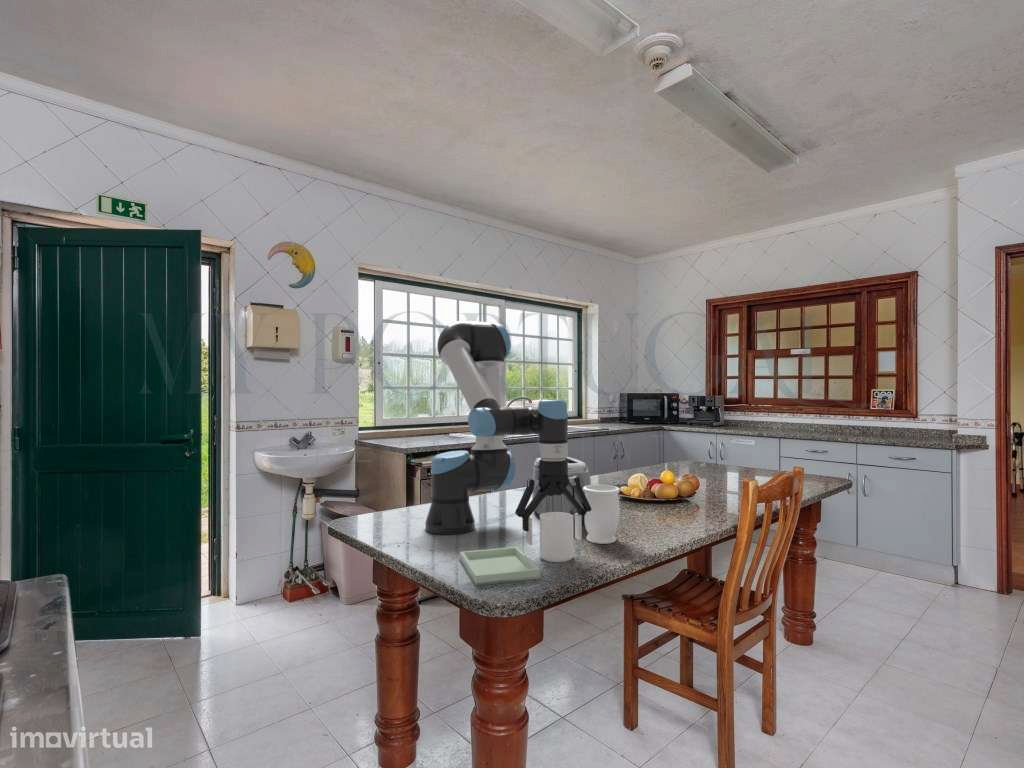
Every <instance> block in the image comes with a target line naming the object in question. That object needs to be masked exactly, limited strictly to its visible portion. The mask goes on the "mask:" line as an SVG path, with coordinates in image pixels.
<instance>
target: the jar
mask: <svg viewBox="0 0 1024 768" xmlns="http://www.w3.org/2000/svg"><path fill="white" fill-rule="evenodd" d="M583 491H584V492H585V496H586V498H587V500H588V502H589V504H590V506H591V511H590V512H589V511H588V512H586V515H585V525H584V526H585V529H586V532H587V536H586V540H587V541H588V542H590V543H593V544H600V545H608V544H613V543H615V542H616V540H617V538H616V536H615V534H616V532H617V531H618V528H619V527H618V526H619V519H620V513H621V512H620V510H621V506H620V498H619V495H618V494H619V493H620V492H621V491H620V487H618V486H614V485H608V484H591V485H588V486H584V487H583Z"/></svg>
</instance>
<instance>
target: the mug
mask: <svg viewBox="0 0 1024 768" xmlns="http://www.w3.org/2000/svg"><path fill="white" fill-rule="evenodd" d="M539 555H540V558H541V559H542V560H543V561H546V562H549V563H550V562H552V563H565V562H568V561H570V560H572V559H573V557H574V522H573V515H571V514H569V513H563V512H548V513H543V514H541V515H540V516H539Z"/></svg>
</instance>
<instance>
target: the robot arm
mask: <svg viewBox="0 0 1024 768" xmlns="http://www.w3.org/2000/svg"><path fill="white" fill-rule="evenodd" d="M511 345H512V343H511V337H510V334H509V331H508V329H507V328H506V327H505V325H503V324H501V323H497V322H496V323H495V322H491V321H490V322H488V321H487V322H486V321H465V320H458V321H454V322H451V323H450V324H448V325H446V326H445V327H444V328H443V329H442V331H441V333H440V334H439V336H438V339H437V347H436V348H437V353H438V356H439V357H440V360H441V361H442V363H443V364H444V365H445V366H448V369H449V370H450V372H451V374H452V376H453V378H454V381H455V382H456V383H457V384H456V385H457V386H458V388H459V390H460V392H461V394H462V396H463V399H465V402H466V404H467V406H468V408H469V414H468V417H467V424H468V430H469V432H470V433H471V434H472V435H473V436H475V444H474V445H473V446H471V449H470V450H471V453H469V451H468V450H463V449H462V450H451V451H446V452H441V453H438V454H436V455H435V456H433V457H432V459H431V466H430V487H431V488H430V490H431V491H430V495H431V496H430V499H431V500H430V501H431V502H430V507H429V510H428V514H427V516H426V520H425V531H426V532H429V533H430V534H435V535H458V534H459V535H460V534H467V533H468V532H471V531H473V530H474V529H475V527H476V521H475V517H474V514H473V511H472V507H471V505H470V493H476V492H486V491H497V490H502V489H507V488H508V487H509V486H510V485H511V484H512V482H513V480H514V477H515V475H516V461H515V458H514V455H513V454H512V453H511V452H509V451H508V446H507V445H506V444H505V443H504V442H503V436H517V435H518V436H519V435H538V458H541V460H540V461H539V479H538V480H533V478H527V479H526V487H525V490H523V494H522V496H521V498H520V501H519V503H518V504H517V507H516V510H515V512H514V515H516V516H517V517H519V518H522V530H523V531H524V532H525V542H526V544H527V545H528V546H533V518H531V516H532V514H533V513H535V512H534V510H535V509H536V508H537V506H538V505H539V504H540V502H541V501H542V500H543V498H545V497H546V495H548V496H553V495H561V494H563V495H564V496H565V497H566V498H567V500H568V501H569V502H570V503H571V504H572V505H573V507H574V508H575V509H576V510H577V511H578V513H575V522H574V538H575V539H576V540H577V541H582V540H583V539H582V536H583V535H582V534H583V533H582V531H583V527H584V526H585V515H586V512H588V511H589V512H590V511H591V506H590V504H589V502H588V500H587V498H586V496H585V494H584V492H583V490H582V488H581V486H580V479H579V477H576V476H572V477H571V478H568V461H567V460H565V458H567V457H569V456H568V455H569V453H568V449H569V447H568V443H569V442H568V439H569V438H568V433H569V432H568V430H569V429H568V425H569V424H568V421H569V420H568V417H569V415H568V414H569V413H568V408H567V407H568V404H567V401H565V400H564V399H541V400H539V401H538V406H533V405H524V406H513V407H511V406H503V407H502V399H501V397H502V395H501V368H502V367H503V365H504V364H505V359H507V358H508V357H509V355H510V351H511V348H512V346H511ZM569 482H570V483H571V485H573V487H574V489H575V491H576V494H577V496H578V498H579V500H580V502H581V504H582V506H583V507H581V506H580V504H579V503H578V502H577V501H576V500H575V498H574V497H573V496H572V495H571V493H570V492H569V491H568V489H567V488H566V487H567V486H568V484H569ZM537 484H538V485H539V486H540V489H539V490H538V492H537V494H536V496H535V497H534V498H533V500H532V499H531V497H532V494H533V490H534V488H535V487H536V485H537ZM530 499H531V501H530ZM529 501H530V502H529Z"/></svg>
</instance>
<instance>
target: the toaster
mask: <svg viewBox="0 0 1024 768" xmlns="http://www.w3.org/2000/svg"><path fill="white" fill-rule="evenodd" d="M540 460H541V458H539V457H537V458H536V459H535V461H534V463H533V469H532V471H533V472H532V479H533V480H538V479H539V461H540ZM565 460H567V461H568V478H571V477H572V476H576V477H579V479H580V486H581V488H582V490H583V487H584V486H588V485H592V480H591V472H590V468H589V466H588V465H587V463H586V462H584V461H581V460H579V459H577V458H573V457H570V456H568V457H567V458H565ZM566 488H567V489H568V491H569V492H570V493H571V495H572V496H573V497H574V498H575V500H576V501H577V502H578V503H579V504H580V506H581V507H583V506H582V504H581V502H580V500H579V498H578V496H577V494H576V491H575V489H574V487H573V485H571V483H570V482H569V484H568V486H567V487H566ZM539 489H540V486H539V485H538V484H537V485H536V487H535V488H534V490H533V493H532V495H531V497H532V499H531V501H532V500H533V498H534V497H535V496H536V494H537V492H538V490H539ZM583 492H584V491H583ZM584 494H585V492H584ZM548 512H563V513H569V514H571V515H573V523H575V513H578V511H577V510H576V509H575V508H574V507H573V505H572V504H571V503H570V502H569V501H568V500H567V498H566V497H565V496H564V495H563V494H561V495H553V496H548V495H546V497H545V498H543V500H542V501H541V502H540V504H539V505H538V506H537V508H536V509H535V510H534V512H533V513H534V514H537V515H538V516H539V517H540V515H541V514H543V513H548Z"/></svg>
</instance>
